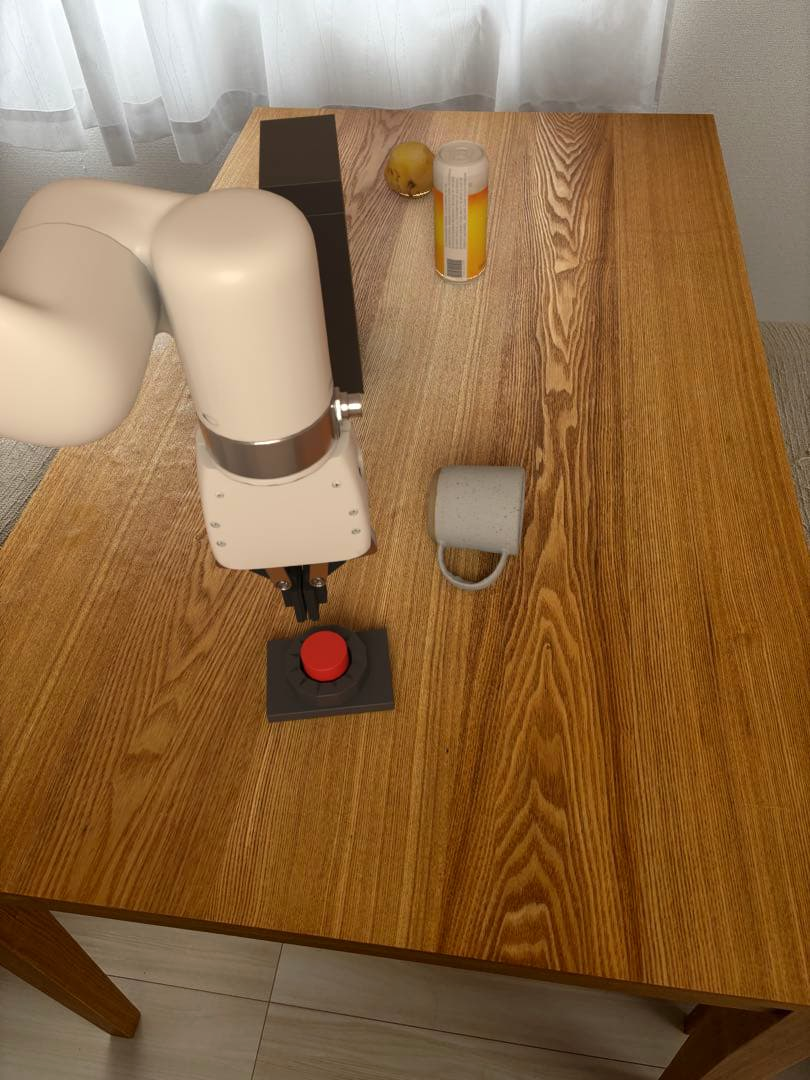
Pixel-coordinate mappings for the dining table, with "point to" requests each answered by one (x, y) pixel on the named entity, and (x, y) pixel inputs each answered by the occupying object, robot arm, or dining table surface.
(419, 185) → the fruit
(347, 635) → the pad
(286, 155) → the coffee maker
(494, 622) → the dining table surface
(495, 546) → the ceramic mug
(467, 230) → the beer can
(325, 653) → the button
